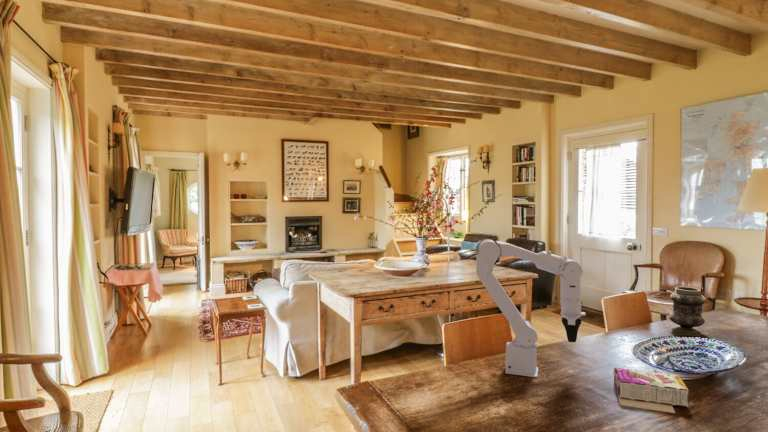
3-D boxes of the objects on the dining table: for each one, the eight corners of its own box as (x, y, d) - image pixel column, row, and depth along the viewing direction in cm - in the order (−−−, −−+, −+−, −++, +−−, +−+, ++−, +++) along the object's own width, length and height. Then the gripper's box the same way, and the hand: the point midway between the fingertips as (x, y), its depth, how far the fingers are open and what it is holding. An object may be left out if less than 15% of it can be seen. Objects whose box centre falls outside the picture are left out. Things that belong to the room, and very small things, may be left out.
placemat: (620, 405, 118) (620, 404, 118) (614, 385, 130) (614, 384, 130) (675, 413, 114) (675, 412, 114) (664, 392, 126) (664, 391, 126)
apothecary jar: (712, 336, 174) (713, 291, 173) (681, 337, 174) (682, 291, 173) (691, 327, 186) (692, 285, 185) (662, 327, 186) (663, 285, 185)
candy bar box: (613, 366, 131) (678, 373, 126) (613, 382, 132) (677, 391, 126) (619, 380, 121) (690, 389, 115) (618, 398, 121) (689, 408, 115)
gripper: (585, 304, 129) (587, 350, 130) (584, 293, 143) (585, 335, 143) (559, 303, 132) (561, 348, 133) (560, 292, 146) (561, 333, 146)
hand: (572, 341), depth 138 cm, fingers closed
